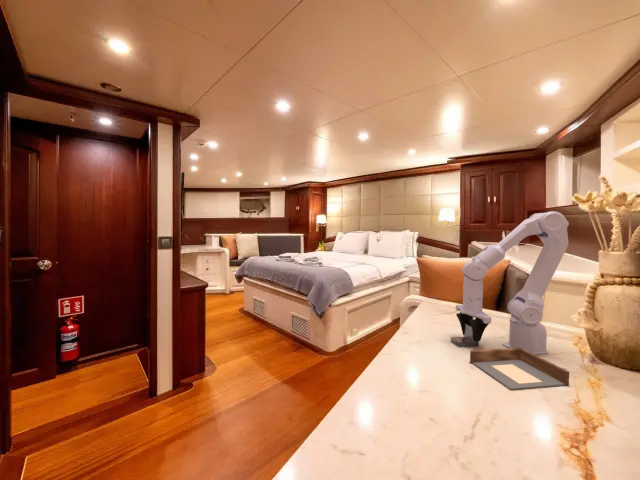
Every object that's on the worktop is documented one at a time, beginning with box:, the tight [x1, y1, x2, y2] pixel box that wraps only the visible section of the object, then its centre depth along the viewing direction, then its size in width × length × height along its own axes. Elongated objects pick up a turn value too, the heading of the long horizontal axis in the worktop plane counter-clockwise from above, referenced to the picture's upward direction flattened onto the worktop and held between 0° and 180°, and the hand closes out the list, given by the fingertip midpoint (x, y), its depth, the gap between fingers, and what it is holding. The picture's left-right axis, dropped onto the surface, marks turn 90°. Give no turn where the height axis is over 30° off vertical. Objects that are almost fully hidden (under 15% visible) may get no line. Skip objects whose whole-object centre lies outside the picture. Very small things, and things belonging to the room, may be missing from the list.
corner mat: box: [469, 359, 570, 391], centre depth 73 cm, size 16×14×1 cm
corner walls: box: [469, 347, 570, 387], centre depth 73 cm, size 16×14×3 cm
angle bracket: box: [450, 323, 480, 348], centre depth 92 cm, size 7×4×6 cm, turn 99°
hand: (471, 337), depth 92 cm, fingers closed on angle bracket, 4 cm apart
